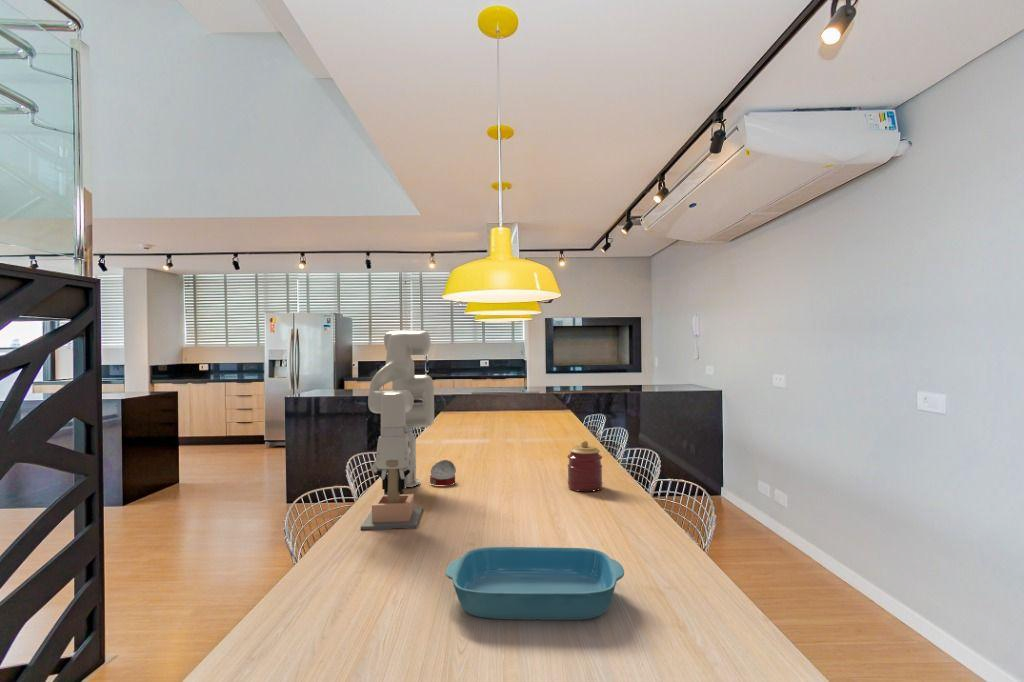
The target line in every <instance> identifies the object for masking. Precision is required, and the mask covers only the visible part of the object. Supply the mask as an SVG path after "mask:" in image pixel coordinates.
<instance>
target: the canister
mask: <svg viewBox="0 0 1024 682" xmlns="http://www.w3.org/2000/svg"><path fill="white" fill-rule="evenodd" d="M569 452H570V453H569V454H568V455H567V458H568V464H567V466H566V467H567V475H568V476H567V485H568V486H567V488H568V489H569V488H570V490H571V489H573V490H572V491H574V490H579V491H593V490H598V489H601V488H602V489H603V483H604V482H603V464H602V461H601V460H602V458H603V456H602V455H601V454H600V452H601V450H600V449H599V448H598V447H596V446H595V445H589V443H588V441H587V440H582V441H581V443H580V445H574V446H573V447H571V448H570V449H569ZM602 489H601V490H602ZM579 491H578V492H579Z"/></svg>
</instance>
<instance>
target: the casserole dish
mask: <svg viewBox="0 0 1024 682" xmlns="http://www.w3.org/2000/svg"><path fill="white" fill-rule="evenodd" d="M624 575H625V568H624V567H623V565H622V564H621V563H620V562H619V561H618V560H616V559H614V558H611V557H610V556H609V555H608V554H607V553H605V552H603V551H600V550H597V549H594V548H585V547H584V548H583V547H544V546H543V547H542V546H541V547H540V546H537V547H536V546H534V547H533V546H531V547H530V546H524V547H523V546H488V547H487V546H486V547H480V548H479V547H478V548H473V549H471V550H468V551H466V552H465V553H464V554H463V555H462V556H461V557H458V558H457V559H455V560H452V561H451V562H450V563H449V564H448V566H447V568H446V570H445V576H446V577H447V578H448V579H450V580H452V584H453V587H454V590H455V593H456V596H457V599H458V601H459V603H460V606H461V607H462V609H463V610H464V611H465V612H467V613H468V614H469V615H472V616H475V617H478V618H482V619H483V618H485V619H497V620H498V619H500V620H523V621H524V620H525V621H526V620H529V621H530V620H532V619H533V620H536V619H541V620H542V621H583V620H591V619H595V618H598V617H599V616H601V615H603V614H605V612H606V611H607V610H608V609H609V607H610V605H611V603H612V599H613V596H614V593H615V592H614V591H615V589H616V585H617V581H620V580H621V579H622V578H623V577H624ZM541 620H540V621H541Z"/></svg>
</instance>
